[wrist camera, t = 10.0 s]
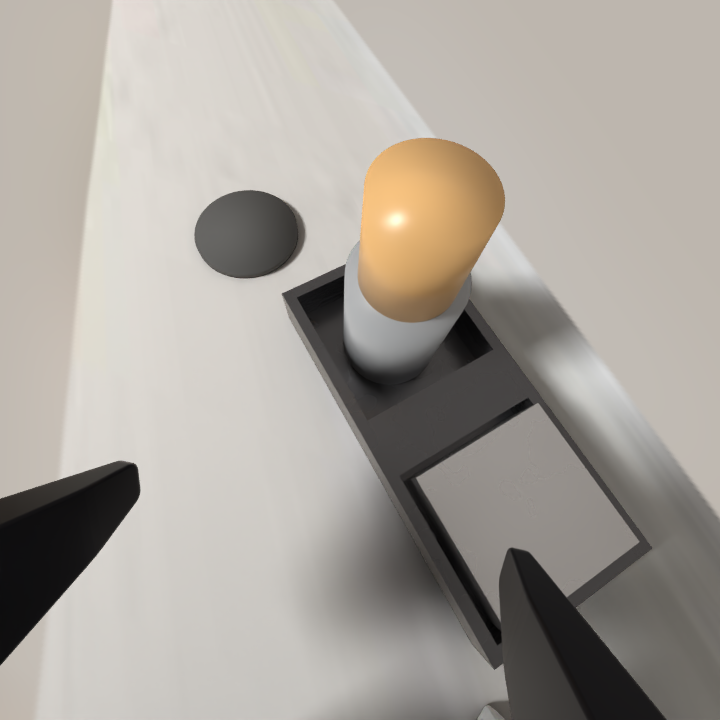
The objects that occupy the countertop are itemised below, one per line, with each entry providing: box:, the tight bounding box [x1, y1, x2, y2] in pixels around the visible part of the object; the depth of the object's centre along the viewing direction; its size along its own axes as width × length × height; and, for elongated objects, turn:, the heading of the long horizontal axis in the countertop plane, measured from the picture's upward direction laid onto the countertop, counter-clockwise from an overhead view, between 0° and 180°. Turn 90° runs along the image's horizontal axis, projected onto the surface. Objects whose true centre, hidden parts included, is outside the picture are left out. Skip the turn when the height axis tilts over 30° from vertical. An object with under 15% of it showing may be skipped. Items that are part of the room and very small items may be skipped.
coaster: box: [195, 190, 298, 278], centre depth 21 cm, size 6×6×1 cm
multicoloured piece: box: [343, 138, 505, 385], centre depth 14 cm, size 4×4×10 cm
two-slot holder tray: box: [282, 264, 652, 670], centre depth 17 cm, size 8×16×4 cm, turn 30°
